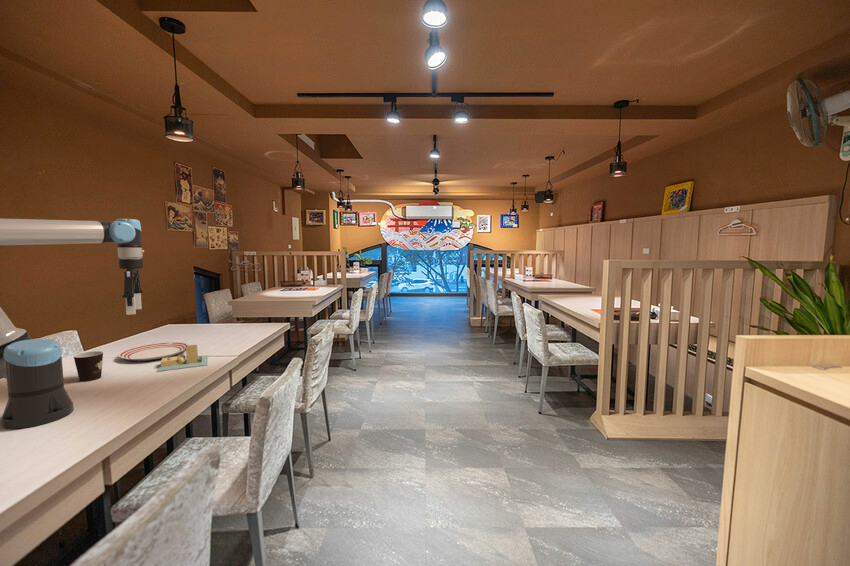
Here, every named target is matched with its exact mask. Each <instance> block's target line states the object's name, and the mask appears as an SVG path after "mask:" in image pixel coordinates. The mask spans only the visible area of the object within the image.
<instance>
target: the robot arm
mask: <svg viewBox="0 0 850 566" xmlns="http://www.w3.org/2000/svg"><path fill="white" fill-rule="evenodd" d="M142 232H143V231H142V226H141V221H140V220H138V219H134V218H117V219H116V220H114V221H107V220H106V221H105V220H73V219H71V220H69V219H66V220H65V219H39V218H37V219H34V218H32V219H30V218H29V219H28V218H0V246H24V245H25V246H26V245H27V246H28V245H29V246H30V245H35V246H36V245H69V244H70V245H73V244H74V245H75V244H77V245H79V244H80V245H81V244H84V245H85V244H117V257H118V258H119V259H118V268H119V269H120V270H121V269H123V270H125V269H126V271H124V272H123V274H124V280H123V281H124V282H123V284H124V288H123V295H121V296H122V298H123V299H124V301H125V312H126V314H125V315H129V316H130V315H136V313H137V312H136V310H142V294H143V291H144V290H142V287H141V279H140V271H139V270H140V269H143V268H144V260H143V259H142V258H143V255H144V253H145V249H143V241H142ZM62 355H63V351H62V348H61V344H60V342H58V341H56V340H54V339H49V338H32V337H31V335H30V334H29V333H28V331H27V330H26V329H24V328H19V327H16V326H15V325H14V324H13V322H12V320H11V319H10V318H9V317H8V315H7V314H6V313H5V312H4V310H3V308H2V307H1V306H0V378H4V379H5V380H6V387H7V394H8V395H7V397H8V399H7V402H6V404H5V405H6V406H5V408H4V410H3V413H2V415H1V418H0V419H1V427H2V428H4V429H13V430H15V429H24V428H25V429H26V428H31V427H37V426H40V425H45V424H47V423H51V422H54V421H57V420H60V419H62V418H65V417H67V416H68V415H71V413H73V412H74V410H75V409H74V401H73V400H72V398H71V397H70V395H69V394H68V391H67V390H66V388H65V385H64V384H65V383H64V381H65V380H64V371H63V370H64V369H63V357H62Z"/></svg>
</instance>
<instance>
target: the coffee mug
mask: <svg viewBox="0 0 850 566" xmlns="http://www.w3.org/2000/svg"><path fill="white" fill-rule="evenodd" d="M103 359H104V351H100V350H98V351H97V350H95V351H93V350H92V351H87V352H81V353H78V354H74V355H73V361H74V364H75V369H76V371H77V375H78V381H79V382H84V383H85V382H92V381H96V380H98V379H101V378H102V374H103V373H102V371H103Z"/></svg>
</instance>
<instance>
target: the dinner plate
mask: <svg viewBox="0 0 850 566" xmlns="http://www.w3.org/2000/svg"><path fill="white" fill-rule="evenodd" d="M187 346H189V344H188V343H186V342H182V341H166V342H155V343H149V344H143V345H140V346H135V347H132V348H127V349H126V350H124V351H121V352H120V353H119V354H118V358H120V359H123V360H128V361H134V362H135V361H136V362H146V361H147V362H149V361H156V360H162V358H168V357H175V356H176V355H178V354H181V353H183V352H185V350H184V349H185V347H187Z"/></svg>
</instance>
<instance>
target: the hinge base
mask: <svg viewBox="0 0 850 566" xmlns="http://www.w3.org/2000/svg"><path fill="white" fill-rule="evenodd" d="M208 358H209V356H208V355H200V356H198V362H197V363H191V364H187V357H186V355H185V354H182V353H179V355H178V354H177V356H176V355H175V356H171V357H167V358H162V359H161V361H160V365H159V368H158V369H157V373H159V372H161V373H162V372H166V371H167V372H168V371H173V370H175V371H176V370H182V369H190V368H197V367H205V366H208V360H209V359H208Z"/></svg>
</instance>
